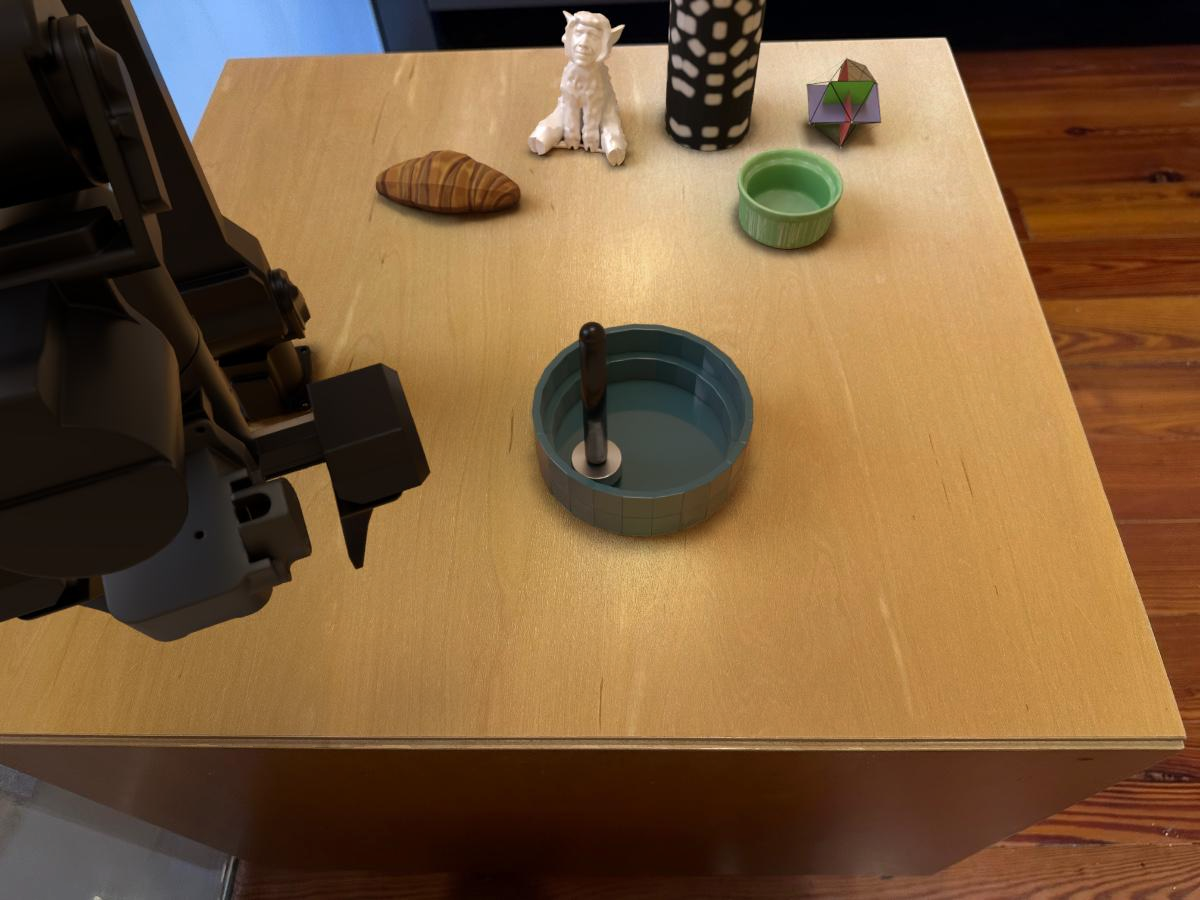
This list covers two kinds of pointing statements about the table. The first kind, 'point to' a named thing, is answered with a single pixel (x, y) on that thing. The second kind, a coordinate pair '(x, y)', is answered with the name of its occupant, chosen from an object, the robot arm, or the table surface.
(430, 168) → the croissant
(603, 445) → the upright rod on disc
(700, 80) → the spotted tube
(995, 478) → the table surface
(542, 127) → the sitting furry creature
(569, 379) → the bowl
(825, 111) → the geometric puzzle
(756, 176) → the ramekin
